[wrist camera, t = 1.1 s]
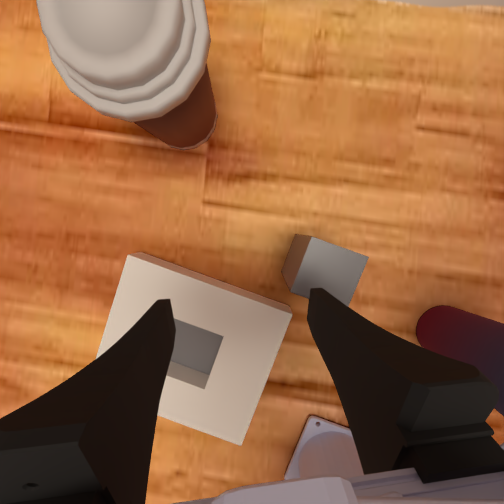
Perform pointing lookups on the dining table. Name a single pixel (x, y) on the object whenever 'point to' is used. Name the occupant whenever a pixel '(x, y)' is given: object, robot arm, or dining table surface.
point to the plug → (322, 268)
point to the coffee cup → (137, 62)
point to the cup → (466, 341)
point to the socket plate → (203, 342)
